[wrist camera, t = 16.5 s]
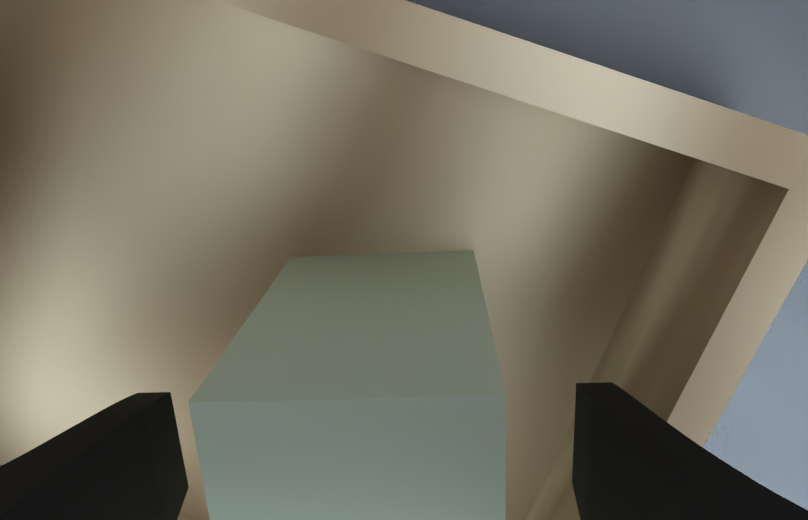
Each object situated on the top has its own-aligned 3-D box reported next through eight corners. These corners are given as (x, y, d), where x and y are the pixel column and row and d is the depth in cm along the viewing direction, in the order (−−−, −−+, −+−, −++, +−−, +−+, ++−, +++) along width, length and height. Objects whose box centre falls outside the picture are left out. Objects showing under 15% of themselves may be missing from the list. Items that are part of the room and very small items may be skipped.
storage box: (736, 125, 13) (866, 154, 9) (503, 611, 17) (523, 768, 13) (-25, -128, 12) (-238, -216, 8) (-67, 452, 16) (-219, 572, 12)
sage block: (473, 250, 13) (506, 395, 8) (475, 411, 14) (504, 640, 9) (290, 256, 13) (188, 402, 8) (308, 415, 15) (232, 641, 9)
